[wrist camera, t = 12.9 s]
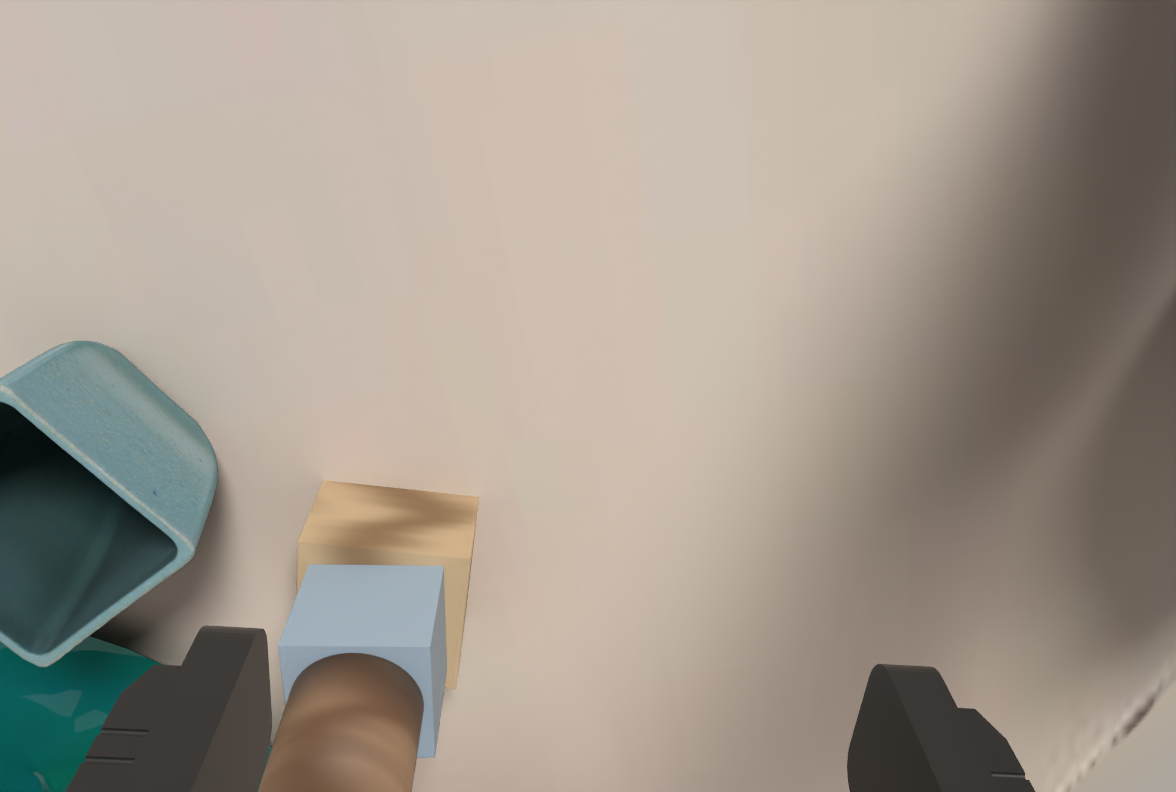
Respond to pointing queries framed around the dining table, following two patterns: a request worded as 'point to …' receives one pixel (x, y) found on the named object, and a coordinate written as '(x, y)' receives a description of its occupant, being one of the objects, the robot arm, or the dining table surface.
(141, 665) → the sailing ship model
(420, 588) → the mid block
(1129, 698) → the dining table surface
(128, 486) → the flower pot
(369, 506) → the base block
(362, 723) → the brown rounded cylinder
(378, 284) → the dining table surface
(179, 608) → the dining table surface
